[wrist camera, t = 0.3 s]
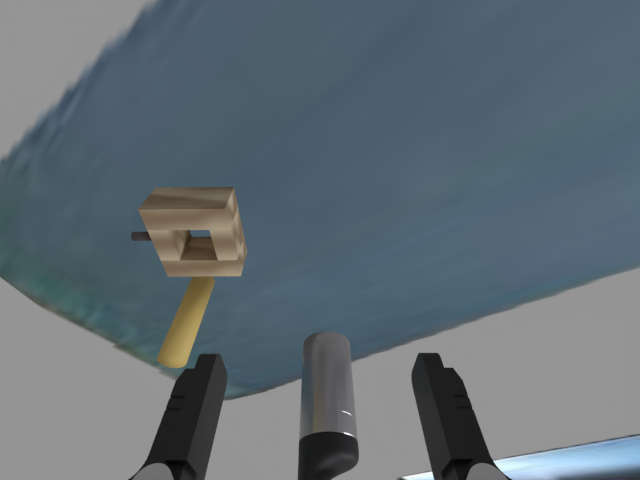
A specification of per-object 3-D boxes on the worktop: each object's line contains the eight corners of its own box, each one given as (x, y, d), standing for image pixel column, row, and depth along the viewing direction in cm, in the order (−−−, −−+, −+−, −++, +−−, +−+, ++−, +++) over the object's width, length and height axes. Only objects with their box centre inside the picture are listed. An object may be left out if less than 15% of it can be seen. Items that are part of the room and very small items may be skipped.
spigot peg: (217, 287, 52) (189, 368, 41) (195, 287, 52) (162, 368, 41) (212, 272, 50) (181, 353, 39) (189, 272, 50) (152, 353, 39)
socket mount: (247, 252, 47) (240, 276, 43) (157, 252, 47) (142, 276, 43) (234, 187, 40) (224, 209, 36) (128, 187, 40) (107, 209, 36)
